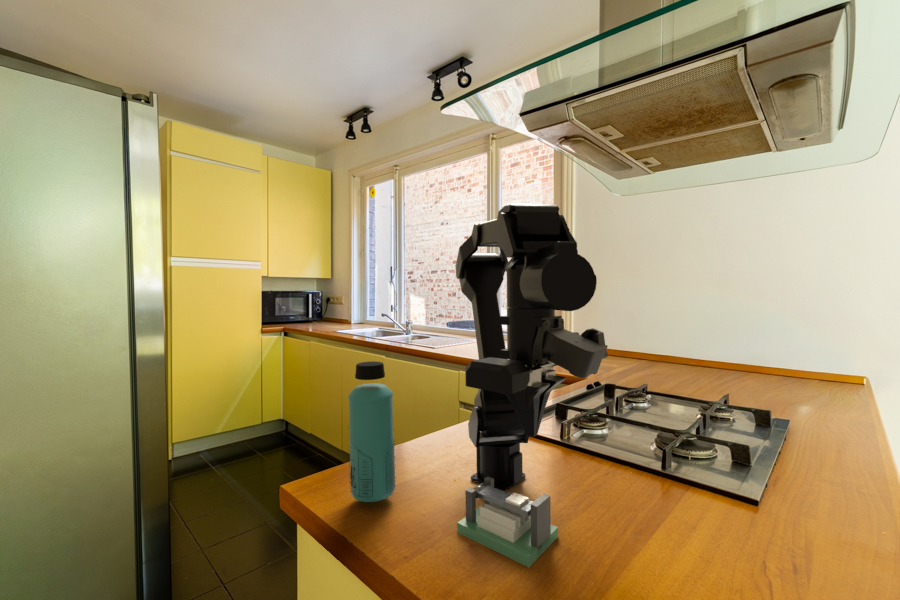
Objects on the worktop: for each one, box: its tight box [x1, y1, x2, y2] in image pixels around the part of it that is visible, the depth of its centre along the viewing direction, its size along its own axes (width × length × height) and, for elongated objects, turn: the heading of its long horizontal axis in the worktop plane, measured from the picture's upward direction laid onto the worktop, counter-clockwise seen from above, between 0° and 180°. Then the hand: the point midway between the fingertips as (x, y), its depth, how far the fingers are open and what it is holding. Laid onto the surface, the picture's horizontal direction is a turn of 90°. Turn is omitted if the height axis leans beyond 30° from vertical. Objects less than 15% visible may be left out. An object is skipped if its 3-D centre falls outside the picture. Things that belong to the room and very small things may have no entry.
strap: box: [473, 482, 533, 517], centre depth 49 cm, size 8×2×1 cm, turn 49°
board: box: [456, 477, 559, 568], centre depth 49 cm, size 10×7×6 cm
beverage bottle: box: [347, 361, 397, 503], centre depth 57 cm, size 6×7×20 cm
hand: (531, 435), depth 49 cm, fingers closed
